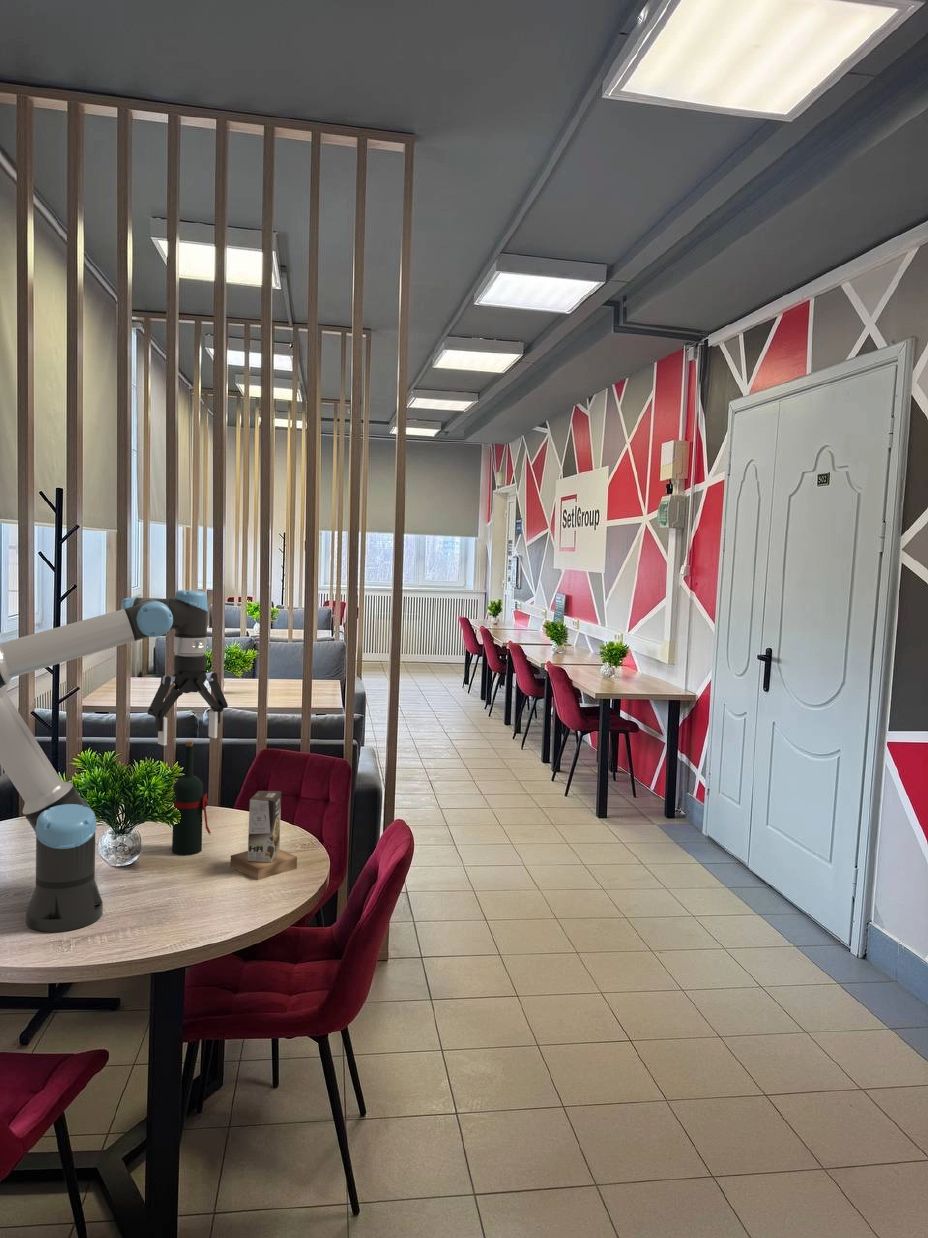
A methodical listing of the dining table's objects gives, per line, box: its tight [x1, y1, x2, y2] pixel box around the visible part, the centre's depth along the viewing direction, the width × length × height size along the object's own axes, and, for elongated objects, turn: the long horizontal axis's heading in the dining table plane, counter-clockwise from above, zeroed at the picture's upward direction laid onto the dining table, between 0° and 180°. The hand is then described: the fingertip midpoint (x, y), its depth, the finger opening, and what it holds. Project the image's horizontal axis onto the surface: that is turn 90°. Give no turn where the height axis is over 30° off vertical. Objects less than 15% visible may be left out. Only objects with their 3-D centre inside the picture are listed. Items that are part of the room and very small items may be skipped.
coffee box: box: [247, 790, 282, 863], centre depth 216 cm, size 9×6×16 cm
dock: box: [230, 848, 298, 881], centre depth 217 cm, size 12×12×3 cm
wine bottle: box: [171, 740, 212, 857], centre depth 226 cm, size 8×10×30 cm
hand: (188, 740), depth 204 cm, fingers open, 13 cm apart
